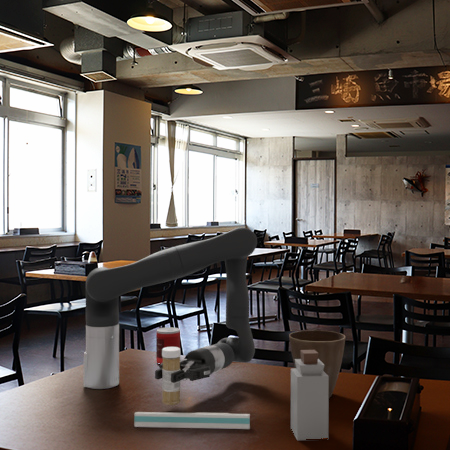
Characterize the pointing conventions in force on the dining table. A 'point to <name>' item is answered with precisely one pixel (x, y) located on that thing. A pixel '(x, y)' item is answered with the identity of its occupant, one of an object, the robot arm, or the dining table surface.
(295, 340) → the plant pot
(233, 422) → the rail
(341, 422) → the dining table surface
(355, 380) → the dining table surface
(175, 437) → the dining table surface
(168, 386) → the sprinkles bottle
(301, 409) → the perfume bottle
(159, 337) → the canned food
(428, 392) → the dining table surface
